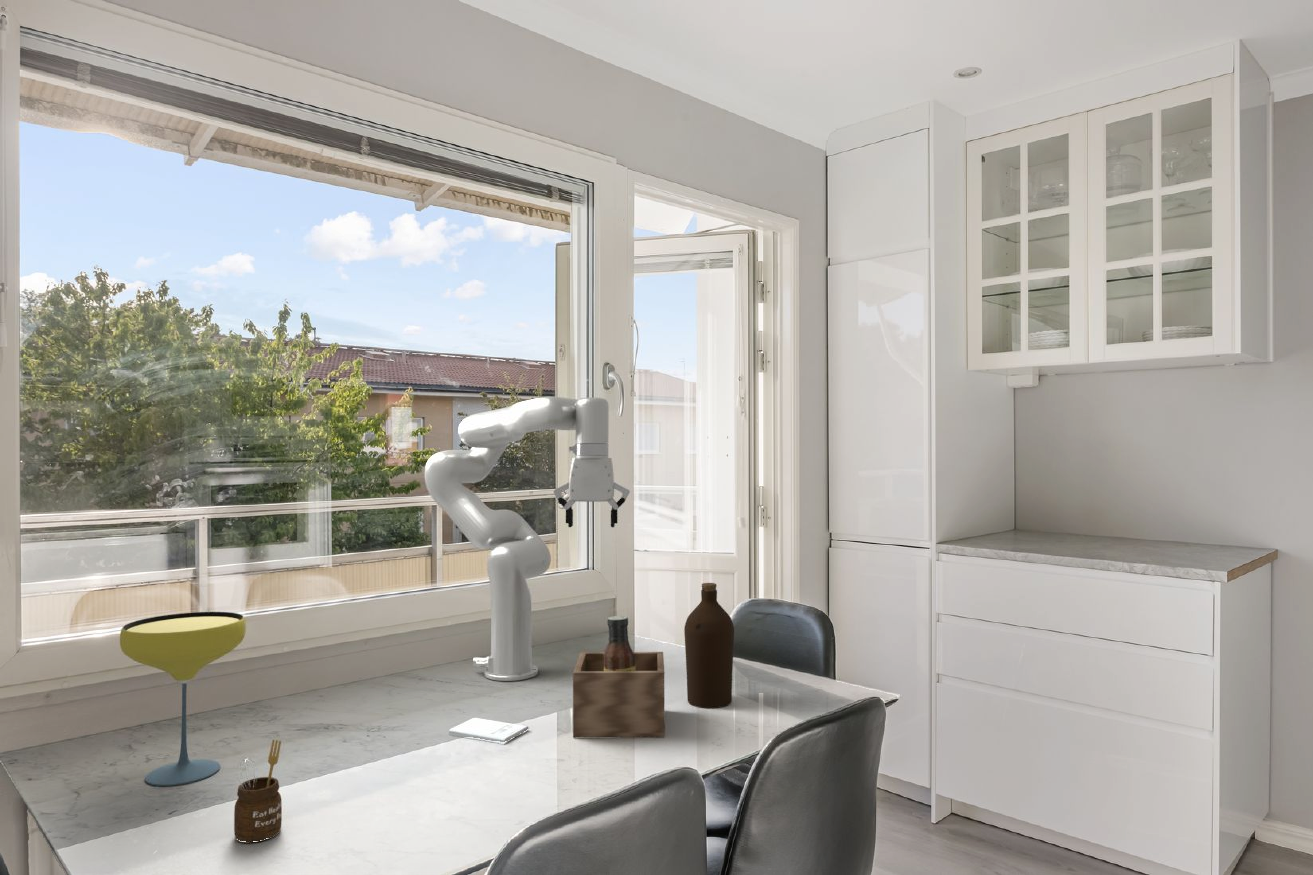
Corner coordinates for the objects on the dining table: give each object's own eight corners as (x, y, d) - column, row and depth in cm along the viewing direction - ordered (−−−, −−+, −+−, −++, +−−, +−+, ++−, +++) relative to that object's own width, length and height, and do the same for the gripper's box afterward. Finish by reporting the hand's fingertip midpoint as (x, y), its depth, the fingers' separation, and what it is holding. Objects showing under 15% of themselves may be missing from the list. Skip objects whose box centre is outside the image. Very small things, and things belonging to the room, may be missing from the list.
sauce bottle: (641, 716, 162) (641, 615, 162) (630, 725, 156) (630, 621, 156) (611, 712, 164) (610, 613, 164) (598, 722, 158) (598, 619, 158)
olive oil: (736, 709, 168) (736, 587, 169) (685, 709, 168) (684, 587, 169) (732, 694, 179) (731, 579, 179) (684, 694, 179) (683, 580, 180)
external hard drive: (475, 724, 161) (528, 733, 156) (448, 738, 153) (503, 747, 148) (475, 716, 161) (528, 724, 156) (448, 729, 153) (503, 738, 148)
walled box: (573, 737, 152) (573, 672, 152) (580, 710, 168) (580, 652, 168) (664, 737, 152) (664, 672, 152) (663, 710, 168) (663, 651, 168)
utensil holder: (223, 840, 111) (224, 752, 112) (260, 821, 117) (261, 737, 118) (256, 847, 109) (257, 757, 110) (292, 827, 115) (293, 742, 115)
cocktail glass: (164, 752, 144) (166, 611, 145) (265, 753, 144) (266, 611, 144) (90, 795, 126) (92, 633, 127) (205, 796, 126) (206, 633, 126)
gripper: (552, 451, 183) (551, 528, 182) (629, 451, 183) (628, 528, 182) (556, 451, 190) (555, 525, 190) (630, 451, 190) (630, 525, 190)
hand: (591, 526), depth 186 cm, fingers open, 9 cm apart
